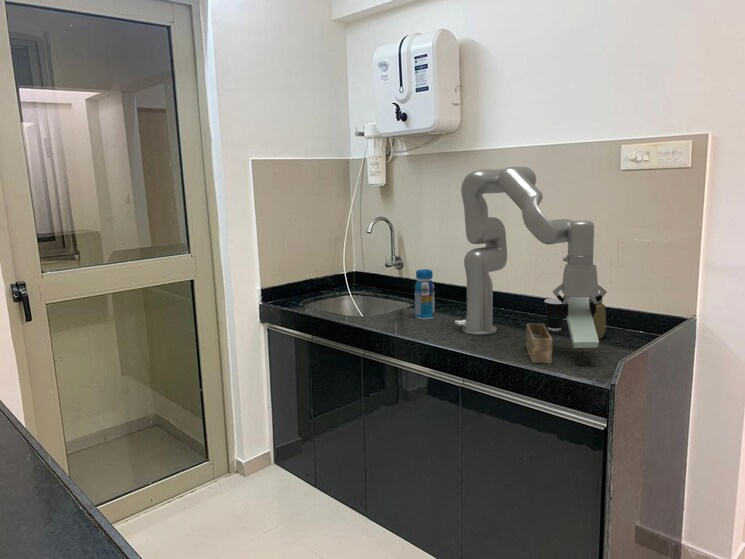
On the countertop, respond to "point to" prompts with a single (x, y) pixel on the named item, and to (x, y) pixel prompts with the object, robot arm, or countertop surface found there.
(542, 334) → the box
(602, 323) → the squeeze bottle
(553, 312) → the dixie cup
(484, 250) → the robot arm
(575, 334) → the lid
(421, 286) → the beverage bottle
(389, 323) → the countertop surface
